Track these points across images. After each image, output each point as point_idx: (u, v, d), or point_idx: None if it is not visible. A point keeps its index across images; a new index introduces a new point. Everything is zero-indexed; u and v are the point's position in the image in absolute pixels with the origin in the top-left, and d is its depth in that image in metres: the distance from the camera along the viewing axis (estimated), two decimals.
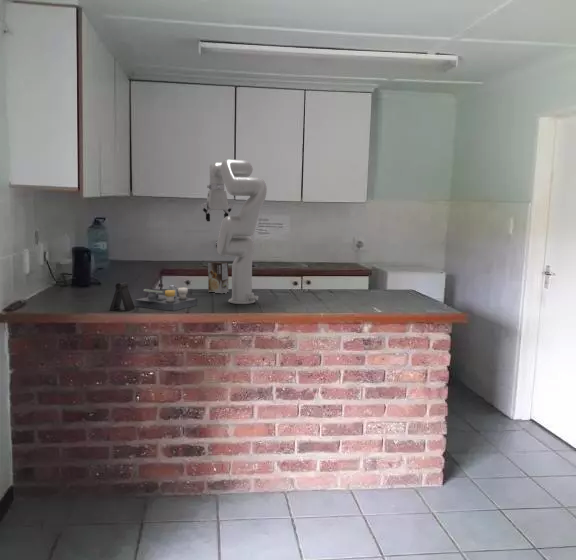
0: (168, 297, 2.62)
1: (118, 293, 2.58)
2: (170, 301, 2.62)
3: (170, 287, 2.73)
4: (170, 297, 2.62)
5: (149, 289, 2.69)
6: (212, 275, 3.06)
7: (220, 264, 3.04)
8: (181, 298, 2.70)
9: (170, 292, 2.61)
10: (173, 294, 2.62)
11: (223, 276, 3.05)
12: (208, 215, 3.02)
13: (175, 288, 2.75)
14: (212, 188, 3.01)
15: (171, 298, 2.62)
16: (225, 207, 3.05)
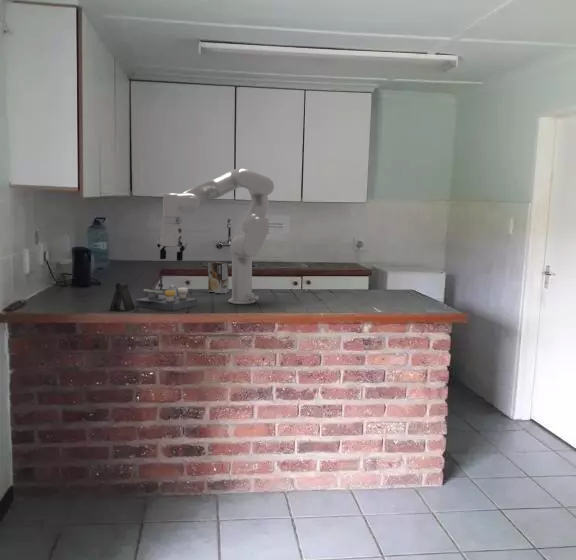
0: (168, 297, 2.62)
1: (118, 293, 2.58)
2: (170, 301, 2.62)
3: (170, 287, 2.73)
4: (170, 297, 2.62)
5: (149, 289, 2.69)
6: (212, 275, 3.06)
7: (220, 264, 3.04)
8: (181, 298, 2.70)
9: (170, 292, 2.61)
10: (173, 294, 2.62)
11: (223, 276, 3.05)
12: None
13: (175, 288, 2.75)
14: (179, 222, 2.61)
15: (171, 298, 2.62)
16: None
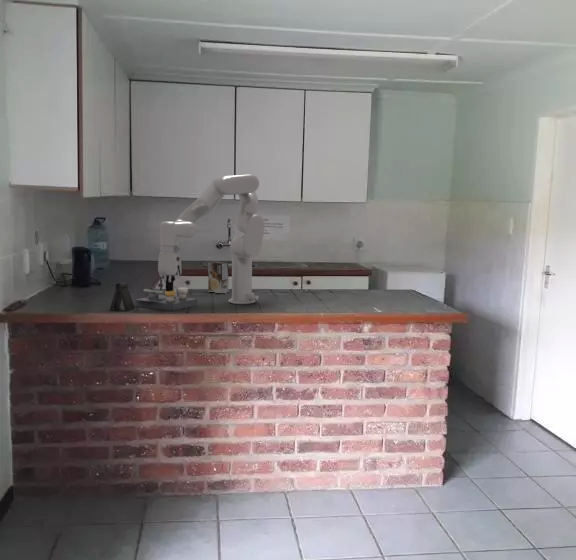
0: (168, 297, 2.62)
1: (118, 293, 2.58)
2: (170, 301, 2.62)
3: None
4: (170, 297, 2.62)
5: (149, 289, 2.69)
6: (212, 275, 3.06)
7: (220, 264, 3.04)
8: (181, 298, 2.70)
9: (170, 292, 2.61)
10: (173, 294, 2.62)
11: (223, 276, 3.05)
12: (172, 283, 2.63)
13: (175, 288, 2.75)
14: (177, 250, 2.61)
15: (171, 298, 2.62)
16: None
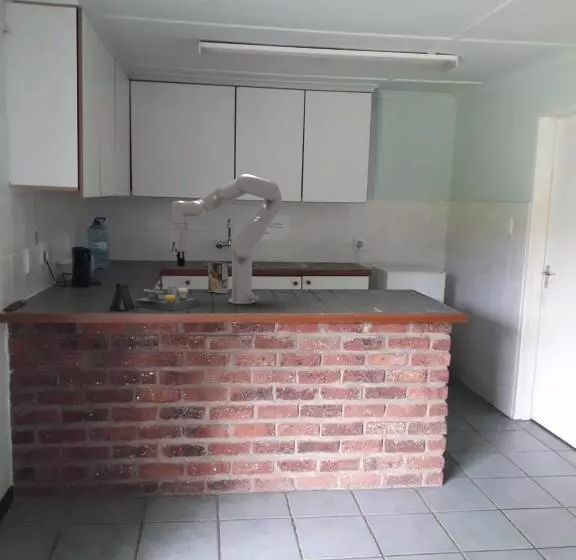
0: (168, 302, 2.62)
1: (118, 293, 2.58)
2: None
3: (170, 287, 2.73)
4: (170, 302, 2.62)
5: (149, 289, 2.69)
6: (212, 275, 3.06)
7: (220, 264, 3.04)
8: (181, 298, 2.70)
9: (170, 297, 2.61)
10: (173, 299, 2.62)
11: (223, 276, 3.05)
12: None
13: (175, 288, 2.75)
14: None
15: None
16: None
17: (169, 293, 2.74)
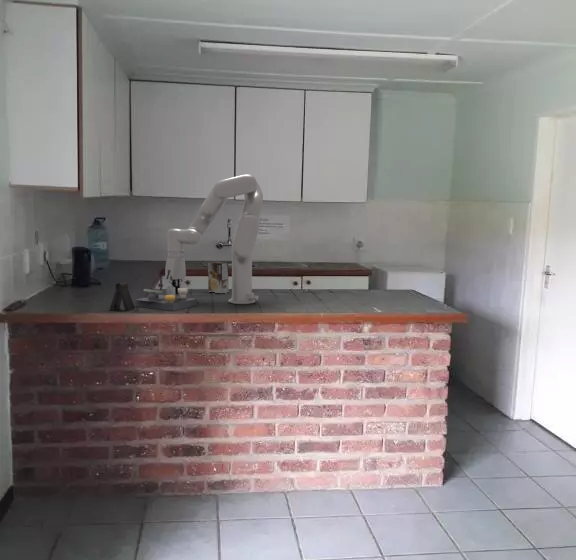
0: (168, 302, 2.62)
1: (118, 293, 2.58)
2: None
3: (169, 287, 2.73)
4: (170, 302, 2.62)
5: (149, 289, 2.69)
6: (212, 275, 3.06)
7: (220, 264, 3.04)
8: (181, 298, 2.70)
9: (170, 297, 2.61)
10: (173, 299, 2.62)
11: (223, 276, 3.05)
12: None
13: (174, 288, 2.74)
14: None
15: None
16: None
17: (168, 293, 2.73)
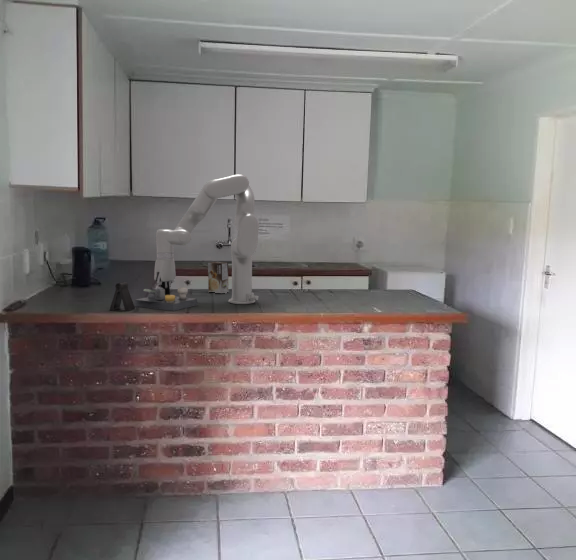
0: (168, 302, 2.62)
1: (118, 293, 2.58)
2: None
3: (158, 289, 2.66)
4: (170, 302, 2.62)
5: (149, 289, 2.69)
6: (212, 275, 3.06)
7: (220, 264, 3.04)
8: (181, 298, 2.70)
9: (170, 297, 2.61)
10: (173, 299, 2.62)
11: (223, 276, 3.05)
12: None
13: (163, 290, 2.67)
14: None
15: None
16: None
17: (157, 295, 2.67)
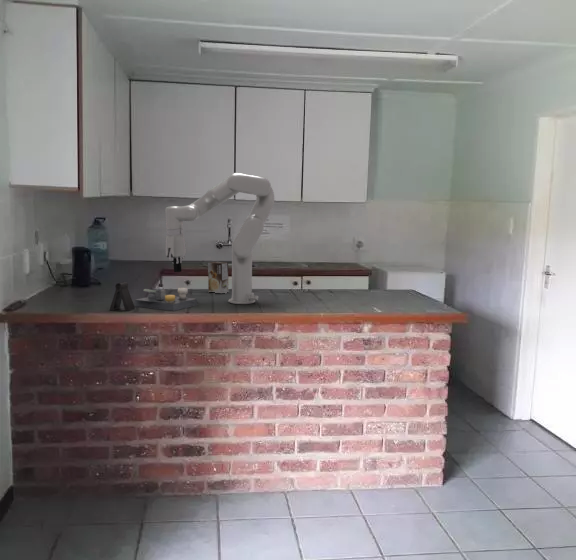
0: (168, 302, 2.62)
1: (118, 293, 2.58)
2: None
3: (158, 289, 2.66)
4: (170, 302, 2.62)
5: (149, 289, 2.69)
6: (212, 275, 3.06)
7: (220, 264, 3.04)
8: (181, 298, 2.70)
9: (170, 297, 2.61)
10: (173, 299, 2.62)
11: (223, 276, 3.05)
12: None
13: (164, 290, 2.68)
14: None
15: None
16: None
17: (157, 295, 2.67)
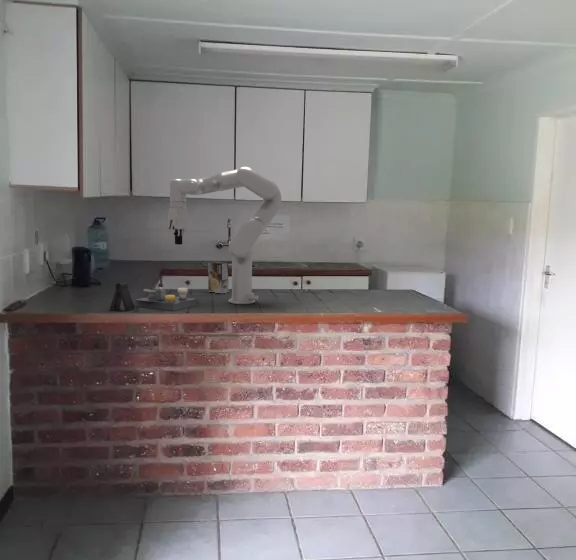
0: (168, 302, 2.62)
1: (118, 293, 2.58)
2: None
3: (158, 289, 2.66)
4: (170, 302, 2.62)
5: (149, 289, 2.69)
6: (212, 275, 3.06)
7: (220, 264, 3.04)
8: (181, 298, 2.70)
9: (170, 297, 2.61)
10: (173, 299, 2.62)
11: (223, 276, 3.05)
12: None
13: (164, 290, 2.68)
14: None
15: None
16: None
17: (157, 295, 2.67)
